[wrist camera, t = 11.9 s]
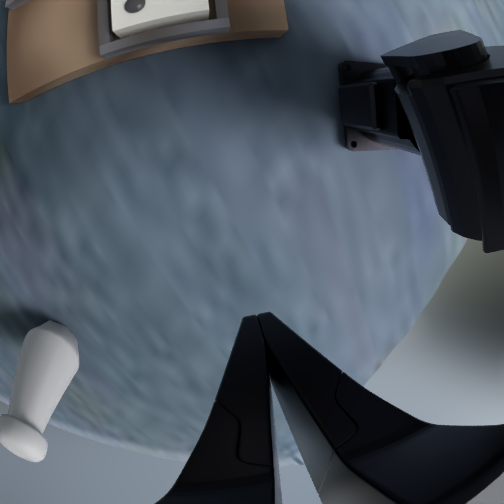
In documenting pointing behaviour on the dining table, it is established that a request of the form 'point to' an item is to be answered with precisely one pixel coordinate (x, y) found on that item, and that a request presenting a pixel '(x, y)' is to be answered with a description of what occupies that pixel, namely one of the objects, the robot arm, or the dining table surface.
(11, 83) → the board
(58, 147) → the dining table surface
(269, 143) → the dining table surface
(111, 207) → the dining table surface
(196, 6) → the tile two
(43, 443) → the salt shaker
